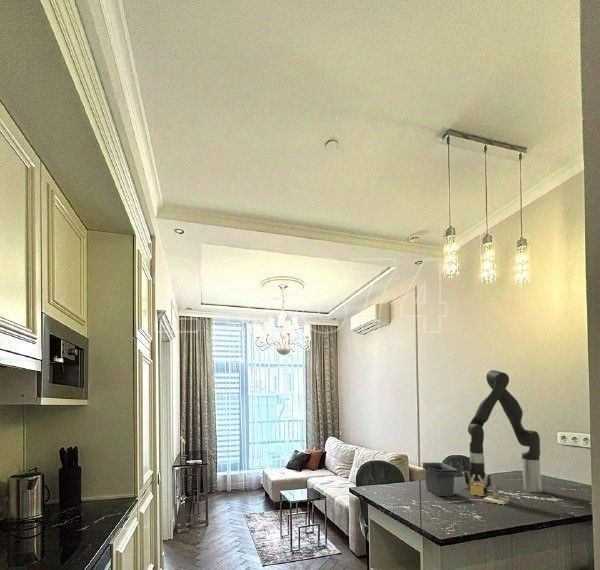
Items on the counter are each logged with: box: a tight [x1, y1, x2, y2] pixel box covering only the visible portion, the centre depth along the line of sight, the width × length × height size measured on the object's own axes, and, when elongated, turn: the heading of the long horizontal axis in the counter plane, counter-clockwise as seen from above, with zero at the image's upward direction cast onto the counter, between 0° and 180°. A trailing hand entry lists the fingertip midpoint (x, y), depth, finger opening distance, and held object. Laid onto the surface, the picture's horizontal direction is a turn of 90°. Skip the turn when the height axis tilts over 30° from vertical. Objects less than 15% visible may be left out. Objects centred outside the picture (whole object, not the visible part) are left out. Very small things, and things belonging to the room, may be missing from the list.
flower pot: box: [462, 471, 479, 490], centre depth 277 cm, size 9×9×9 cm
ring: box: [469, 483, 485, 497], centre depth 263 cm, size 7×7×5 cm
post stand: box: [482, 484, 510, 506], centre depth 249 cm, size 10×10×8 cm
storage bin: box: [421, 462, 458, 497], centre depth 266 cm, size 21×16×14 cm
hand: (478, 493), depth 263 cm, fingers closed on ring, 6 cm apart
